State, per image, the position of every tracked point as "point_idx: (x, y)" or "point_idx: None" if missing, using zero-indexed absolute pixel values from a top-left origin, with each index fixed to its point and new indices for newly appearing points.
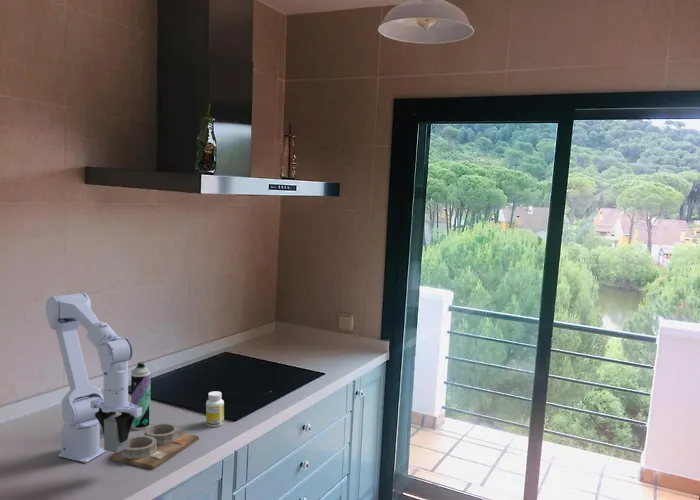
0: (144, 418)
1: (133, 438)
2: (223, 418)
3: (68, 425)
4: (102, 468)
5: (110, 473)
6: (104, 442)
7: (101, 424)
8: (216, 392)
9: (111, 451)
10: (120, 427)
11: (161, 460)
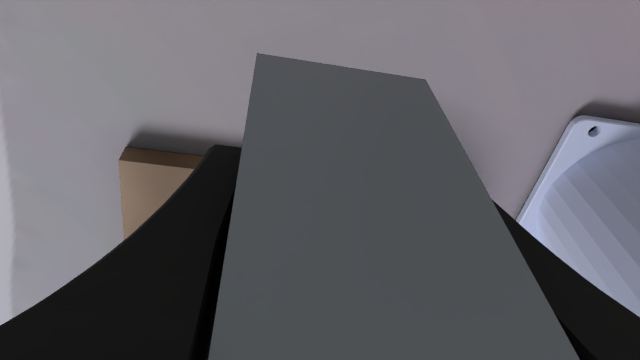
0: None
1: None
2: None
3: None
4: (442, 86)
5: (358, 40)
6: (443, 120)
7: (602, 306)
8: None
9: (332, 67)
10: (129, 282)
11: (124, 222)
